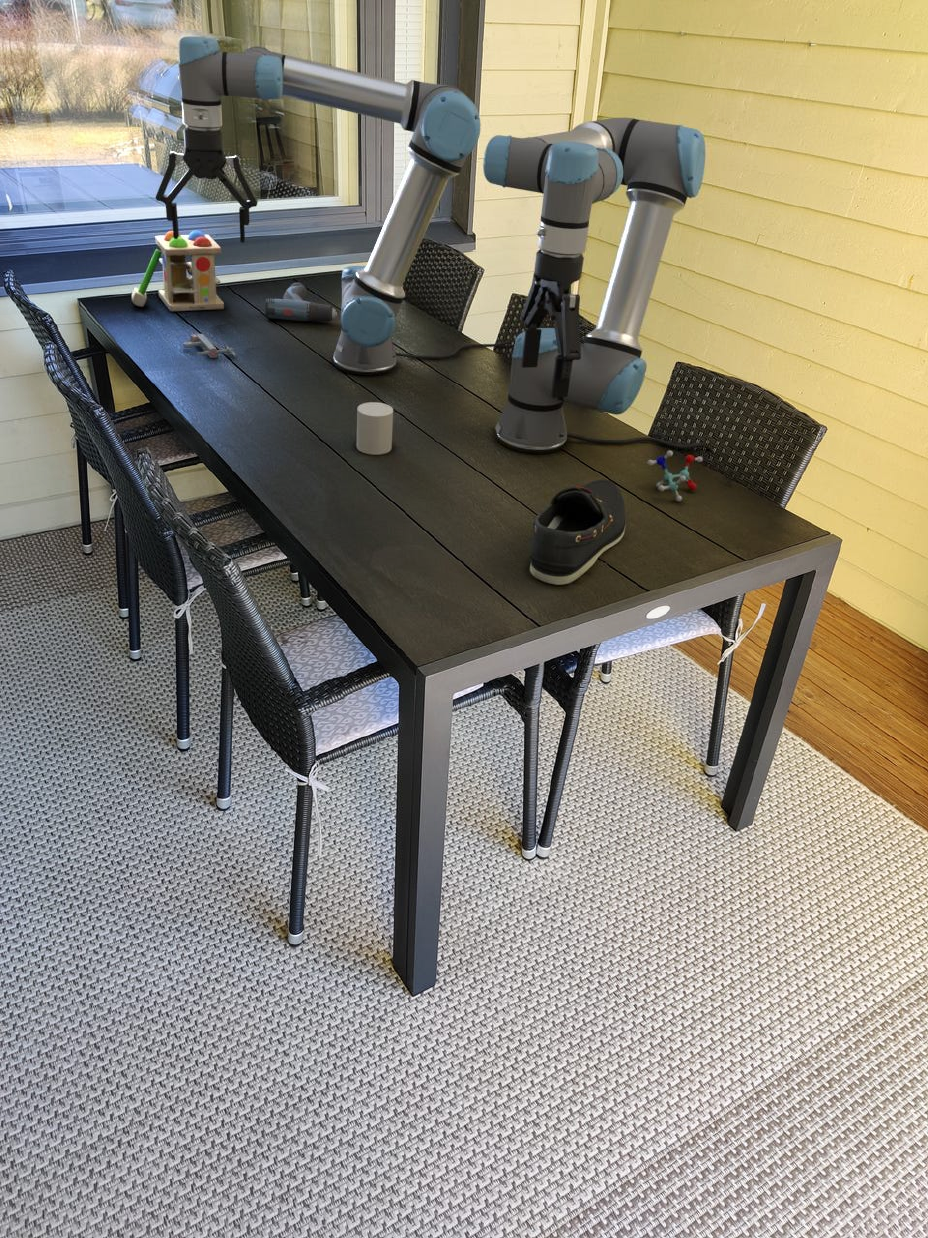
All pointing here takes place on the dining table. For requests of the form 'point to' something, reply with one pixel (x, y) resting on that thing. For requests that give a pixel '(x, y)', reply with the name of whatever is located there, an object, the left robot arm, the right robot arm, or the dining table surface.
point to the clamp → (206, 346)
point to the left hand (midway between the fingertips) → (209, 239)
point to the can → (374, 428)
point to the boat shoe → (576, 531)
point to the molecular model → (669, 477)
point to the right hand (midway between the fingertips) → (543, 381)
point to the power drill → (298, 307)
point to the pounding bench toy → (184, 273)
